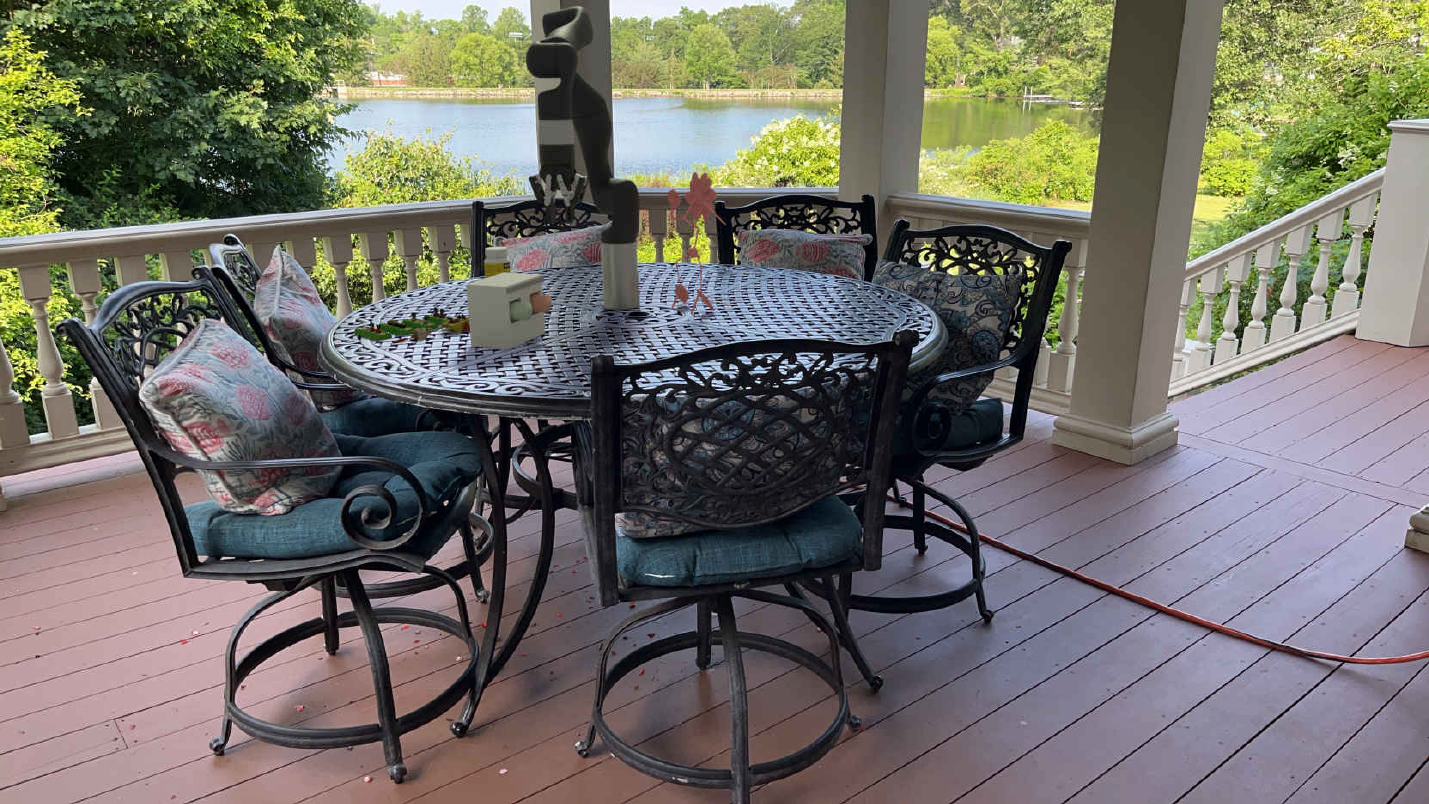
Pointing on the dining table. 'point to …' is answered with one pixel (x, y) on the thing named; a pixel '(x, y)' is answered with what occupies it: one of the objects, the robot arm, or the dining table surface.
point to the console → (503, 310)
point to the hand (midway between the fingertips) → (560, 222)
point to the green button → (520, 311)
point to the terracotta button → (540, 303)
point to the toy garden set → (415, 327)
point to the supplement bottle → (496, 261)
